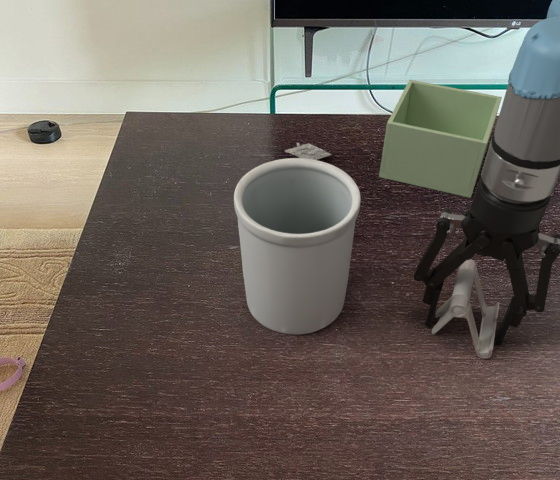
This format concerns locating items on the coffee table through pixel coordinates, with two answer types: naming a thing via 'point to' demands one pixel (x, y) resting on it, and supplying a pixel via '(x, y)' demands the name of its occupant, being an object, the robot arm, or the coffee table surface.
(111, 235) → the coffee table surface
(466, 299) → the tablet stand
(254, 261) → the utensil holder
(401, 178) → the bin
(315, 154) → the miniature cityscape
